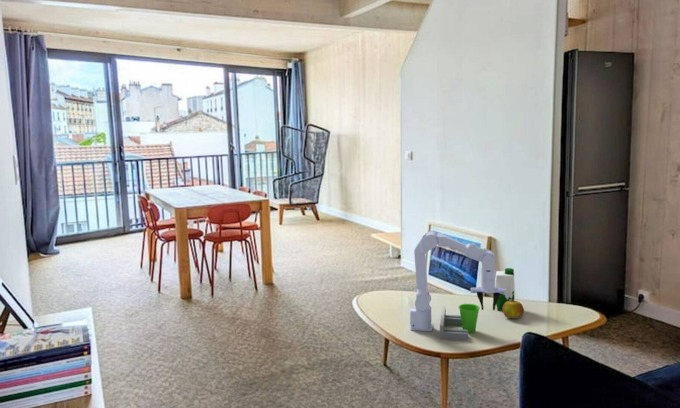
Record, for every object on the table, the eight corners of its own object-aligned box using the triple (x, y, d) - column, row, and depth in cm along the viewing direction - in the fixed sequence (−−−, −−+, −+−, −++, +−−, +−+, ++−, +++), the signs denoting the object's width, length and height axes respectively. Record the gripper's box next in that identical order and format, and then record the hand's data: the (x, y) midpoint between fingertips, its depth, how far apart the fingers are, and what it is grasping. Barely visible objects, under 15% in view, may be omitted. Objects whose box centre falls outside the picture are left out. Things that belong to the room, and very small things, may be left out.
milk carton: (514, 312, 237) (515, 271, 234) (495, 311, 240) (495, 271, 237) (513, 306, 246) (513, 267, 243) (494, 305, 248) (494, 266, 245)
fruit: (515, 313, 236) (515, 297, 235) (528, 319, 227) (528, 302, 226) (498, 316, 233) (498, 299, 232) (510, 322, 225) (510, 305, 224)
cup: (481, 334, 212) (482, 310, 211) (460, 335, 213) (460, 310, 211) (477, 327, 221) (477, 303, 220) (456, 327, 222) (456, 303, 220)
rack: (440, 339, 210) (440, 323, 209) (442, 320, 230) (442, 306, 229) (468, 340, 207) (467, 324, 206) (467, 322, 227) (467, 307, 226)
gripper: (470, 281, 210) (470, 311, 212) (506, 282, 206) (506, 313, 208) (470, 276, 216) (470, 306, 218) (505, 277, 213) (505, 307, 215)
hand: (488, 309), depth 214 cm, fingers open, 4 cm apart
